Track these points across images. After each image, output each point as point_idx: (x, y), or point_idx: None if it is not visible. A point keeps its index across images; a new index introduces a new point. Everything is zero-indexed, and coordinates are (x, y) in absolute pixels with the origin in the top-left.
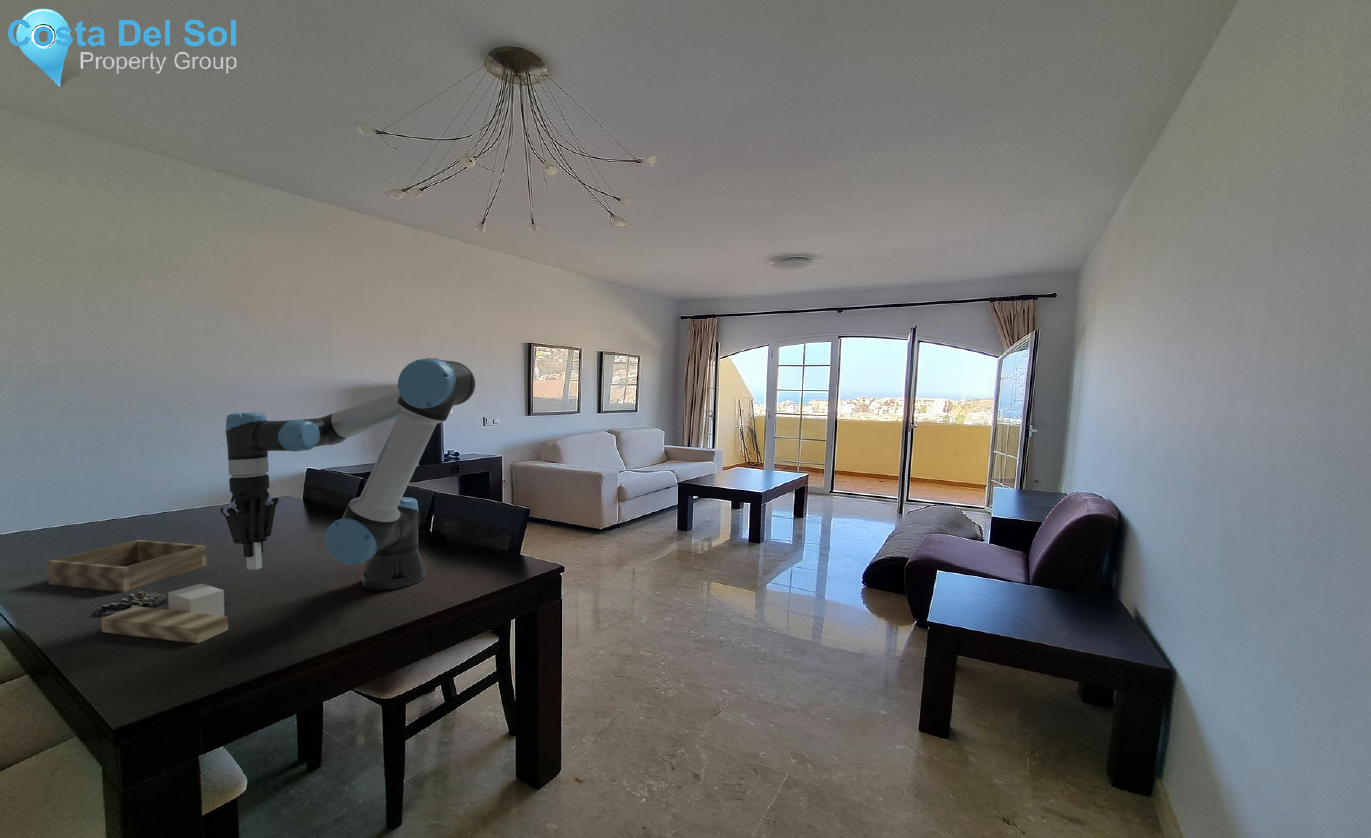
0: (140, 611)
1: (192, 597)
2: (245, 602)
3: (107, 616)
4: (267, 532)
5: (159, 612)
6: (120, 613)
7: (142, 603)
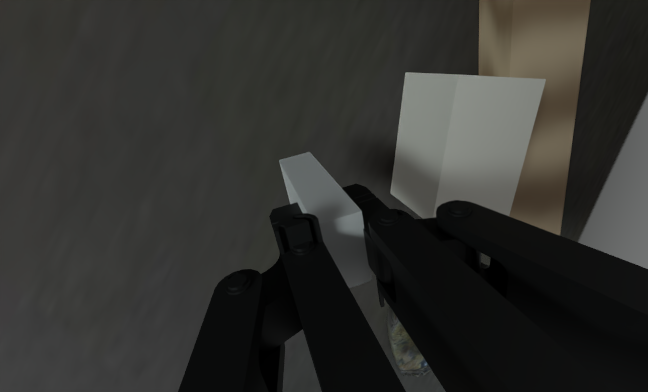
0: (523, 208)
1: (529, 98)
2: (321, 122)
3: None
4: (253, 294)
5: None
6: None
7: None
